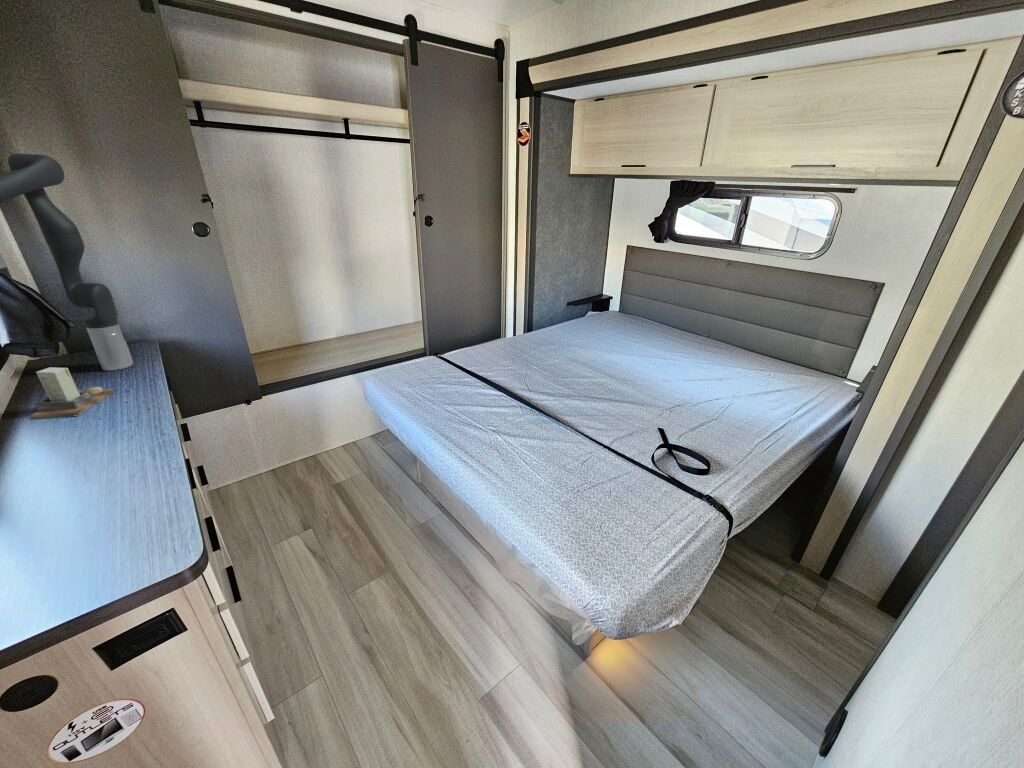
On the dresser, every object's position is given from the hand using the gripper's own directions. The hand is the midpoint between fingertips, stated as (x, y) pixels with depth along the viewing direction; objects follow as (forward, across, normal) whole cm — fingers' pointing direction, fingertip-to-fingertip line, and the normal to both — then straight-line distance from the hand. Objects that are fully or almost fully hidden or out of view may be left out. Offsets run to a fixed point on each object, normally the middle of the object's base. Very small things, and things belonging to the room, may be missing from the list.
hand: (12, 320), depth 127 cm
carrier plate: (+28, +4, +9) cm, 30 cm away
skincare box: (+27, +6, +9) cm, 29 cm away
